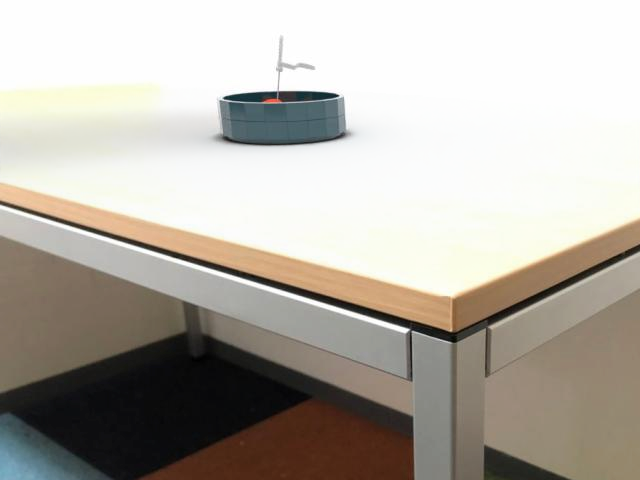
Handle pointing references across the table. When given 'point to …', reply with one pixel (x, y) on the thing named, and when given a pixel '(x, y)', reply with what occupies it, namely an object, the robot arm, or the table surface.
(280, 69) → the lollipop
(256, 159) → the table surface
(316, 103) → the bowl
